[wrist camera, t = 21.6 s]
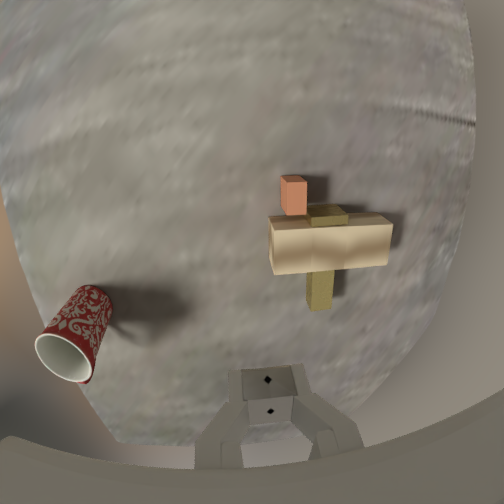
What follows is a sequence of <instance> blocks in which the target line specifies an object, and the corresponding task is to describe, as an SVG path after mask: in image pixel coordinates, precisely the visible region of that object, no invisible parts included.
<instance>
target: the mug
mask: <svg viewBox="0 0 504 504" xmlns="http://www.w3.org/2000/svg"><path fill="white" fill-rule="evenodd" d="M112 312H113V307H112V303H111V301H110V299H109V298H108V296H107V295H106V294H105V293H104V292H103V291H102V290H100V289H98V288H96V287H94V286H89V285H86V286H82V287H80V288H78V289H77V290H76V291H75V293H74V294H73V295H72V296H71V298H70V299H69V300H68V301H67V302H66V304H65V305H64V306H63V307H62V308H61V310H60V311H59V312H58V313H57V315H56V316H55V317H54V318H53V320H52V321H51V322H50V323H49V325H48V326H47V327H46V329H45V330H44V331H43V333H42V334H40V335H39V336H38V337H37V338H36V340H35V349H36V352H37V355H38V356H39V358H40V360H41V361H42V362H43V364H44V365H45V366H46V367H47V368H48V369H49V370H50V371H52V372H53V373H55V374H56V375H57V376H60V377H62V378H63V379H66V380H69V381H74V382H78V383H81V384H87V383H88V382H89V381H90V380H91V378H92V375H93V372H94V367H95V361H96V356H97V353H98V350H99V347H100V344H101V342H102V339H103V336H104V334H105V331H106V328H107V326H108V323H109V321H110V318H111V315H112Z"/></svg>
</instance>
